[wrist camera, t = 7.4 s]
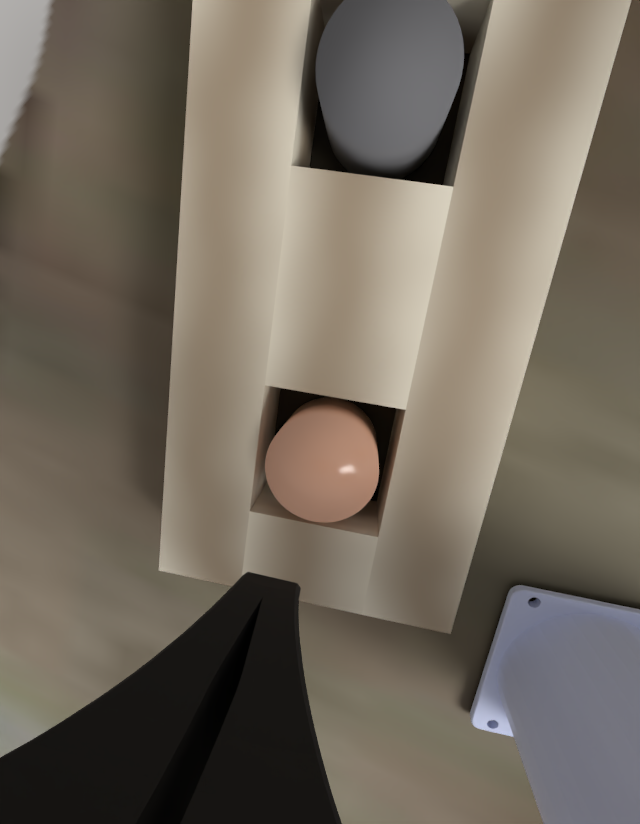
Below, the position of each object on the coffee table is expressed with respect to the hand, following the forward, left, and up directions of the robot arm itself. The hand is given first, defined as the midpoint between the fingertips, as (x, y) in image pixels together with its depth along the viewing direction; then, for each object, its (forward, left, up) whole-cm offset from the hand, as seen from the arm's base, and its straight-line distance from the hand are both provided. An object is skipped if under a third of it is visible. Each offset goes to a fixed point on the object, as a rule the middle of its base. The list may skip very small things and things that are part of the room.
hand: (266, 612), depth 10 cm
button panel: (0, -8, -9) cm, 12 cm away
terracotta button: (0, -2, -8) cm, 8 cm away
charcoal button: (0, -14, -8) cm, 16 cm away
